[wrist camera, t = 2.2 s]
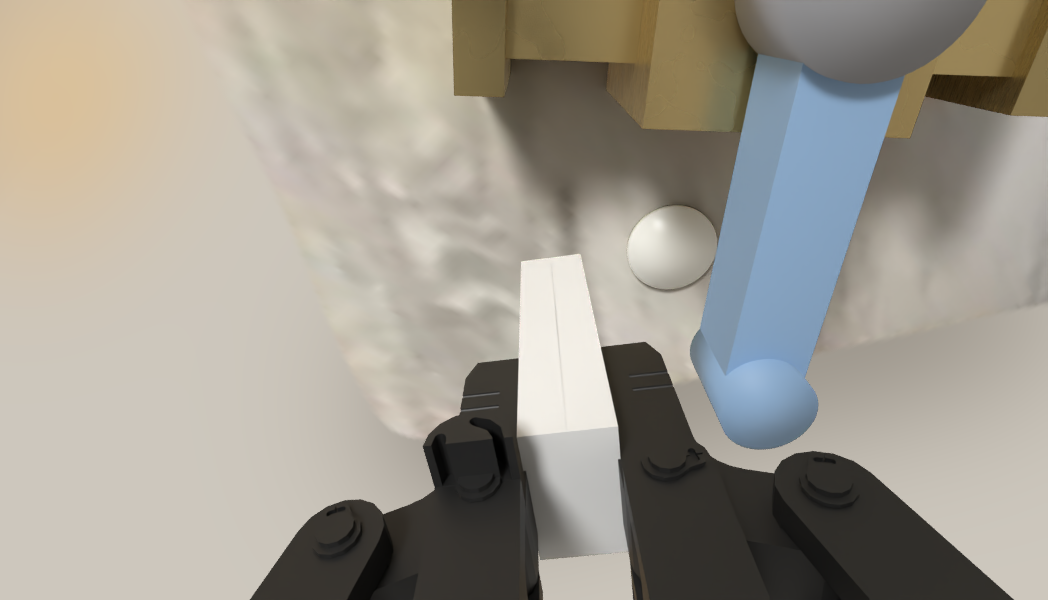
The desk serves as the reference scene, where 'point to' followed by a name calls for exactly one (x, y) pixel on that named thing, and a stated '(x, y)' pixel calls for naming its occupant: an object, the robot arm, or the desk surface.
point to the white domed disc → (671, 247)
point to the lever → (802, 192)
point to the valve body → (730, 58)
